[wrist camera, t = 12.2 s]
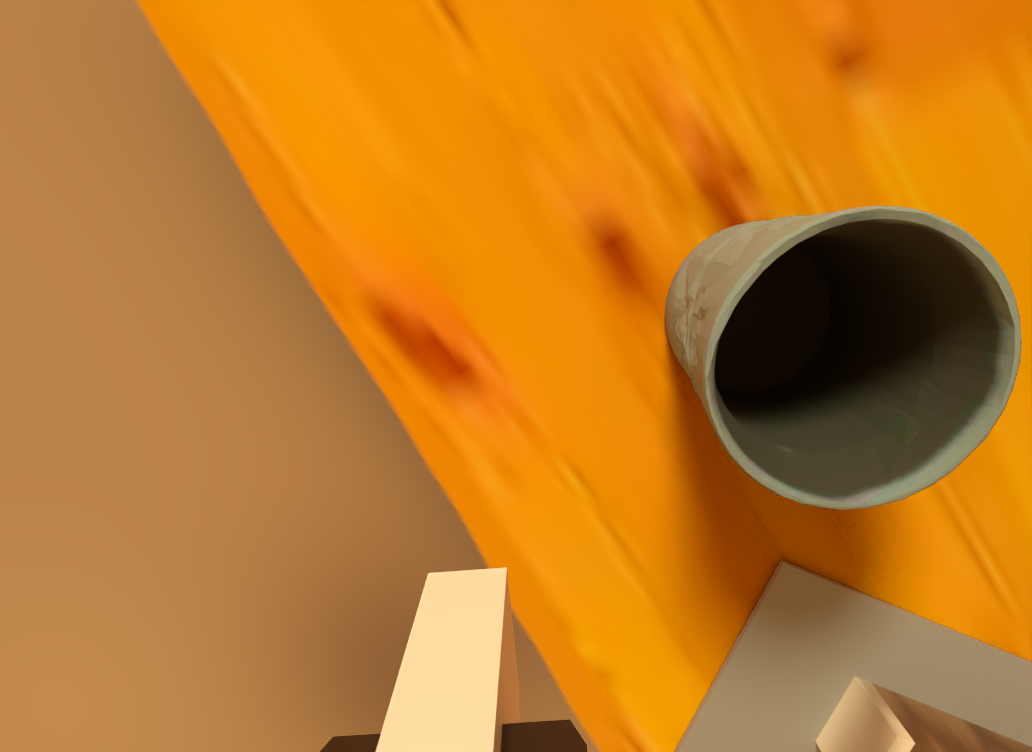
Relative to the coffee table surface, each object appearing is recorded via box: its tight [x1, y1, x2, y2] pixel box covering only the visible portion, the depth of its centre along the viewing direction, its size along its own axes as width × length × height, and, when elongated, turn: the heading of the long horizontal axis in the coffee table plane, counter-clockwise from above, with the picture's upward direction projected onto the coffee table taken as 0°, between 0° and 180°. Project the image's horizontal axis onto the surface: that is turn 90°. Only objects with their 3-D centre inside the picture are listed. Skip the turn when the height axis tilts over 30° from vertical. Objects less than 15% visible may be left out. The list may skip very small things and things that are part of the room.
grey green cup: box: [665, 206, 1022, 510], centre depth 28 cm, size 10×10×12 cm
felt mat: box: [674, 560, 1032, 752], centre depth 39 cm, size 22×13×1 cm, turn 67°
